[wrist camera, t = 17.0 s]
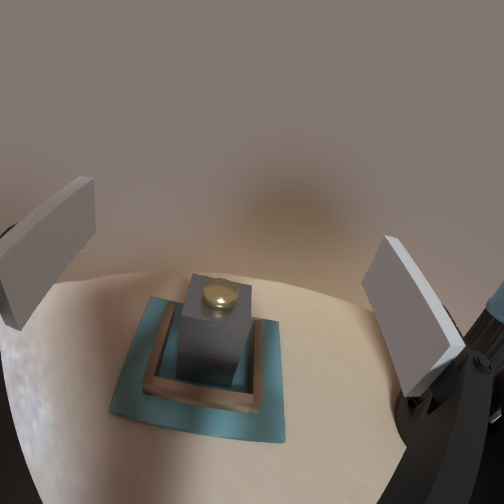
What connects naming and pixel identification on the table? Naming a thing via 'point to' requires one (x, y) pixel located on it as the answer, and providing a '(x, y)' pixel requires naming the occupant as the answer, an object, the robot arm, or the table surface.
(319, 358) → the table surface
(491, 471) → the robot arm
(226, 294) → the grey block with knob
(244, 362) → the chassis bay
